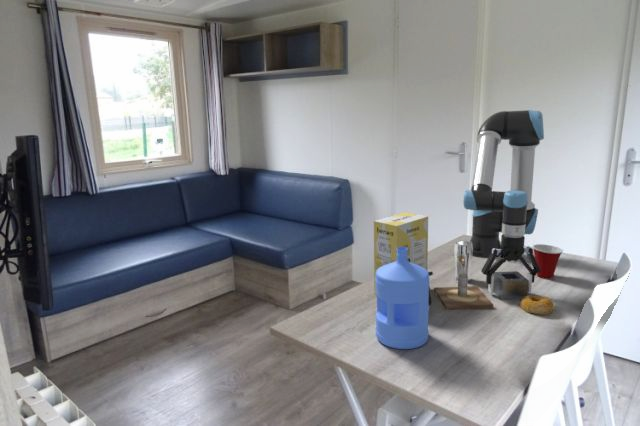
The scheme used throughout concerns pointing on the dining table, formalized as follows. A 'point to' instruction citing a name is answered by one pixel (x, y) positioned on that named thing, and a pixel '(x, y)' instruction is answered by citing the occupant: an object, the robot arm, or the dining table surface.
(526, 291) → the collar
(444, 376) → the dining table surface
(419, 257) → the pasta box
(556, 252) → the plastic cup
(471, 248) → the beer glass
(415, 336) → the water jug
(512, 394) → the dining table surface
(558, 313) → the dining table surface
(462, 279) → the post stand
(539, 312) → the bagel
